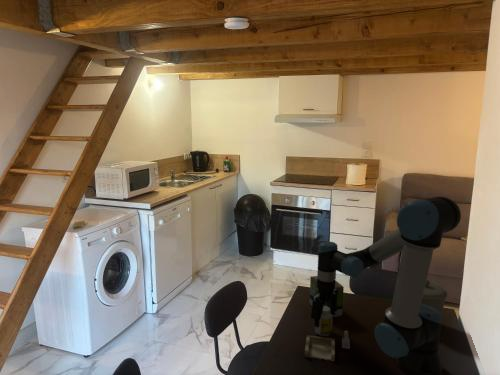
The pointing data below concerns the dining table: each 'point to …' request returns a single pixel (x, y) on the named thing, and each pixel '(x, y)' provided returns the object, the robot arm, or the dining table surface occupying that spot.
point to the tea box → (314, 292)
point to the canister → (434, 296)
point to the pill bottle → (326, 321)
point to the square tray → (320, 348)
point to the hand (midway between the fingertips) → (323, 330)
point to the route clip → (346, 341)
